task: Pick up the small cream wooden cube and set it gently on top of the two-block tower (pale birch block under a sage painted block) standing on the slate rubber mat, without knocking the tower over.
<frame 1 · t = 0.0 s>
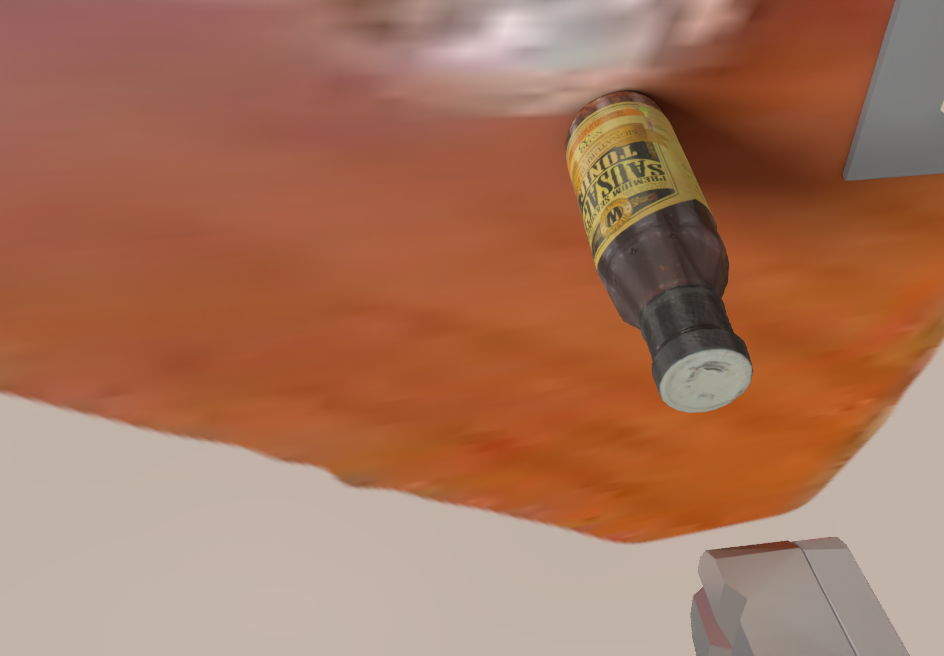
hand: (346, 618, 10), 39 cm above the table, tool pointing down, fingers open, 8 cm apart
sauce bottle: (610, 135, 51), on the table
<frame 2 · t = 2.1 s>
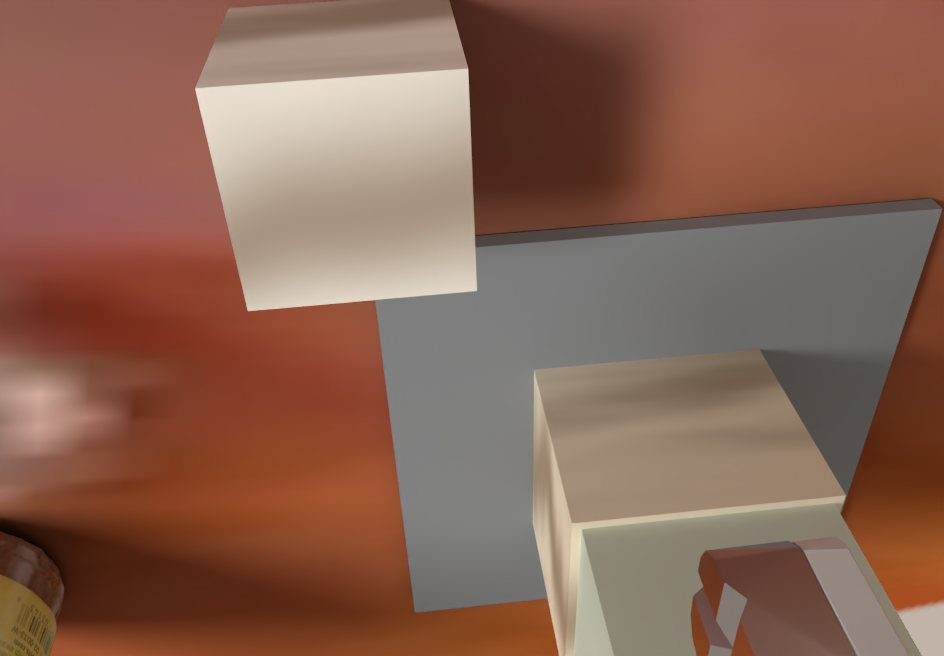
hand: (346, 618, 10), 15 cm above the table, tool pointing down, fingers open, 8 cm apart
sage block: (693, 594, 24), point 7 cm above the table, touching birch block
cream cube: (352, 103, 21), on the table
slate mat: (633, 429, 29), on the table
birch block: (638, 441, 28), point 1 cm above the table, touching sage block, slate mat
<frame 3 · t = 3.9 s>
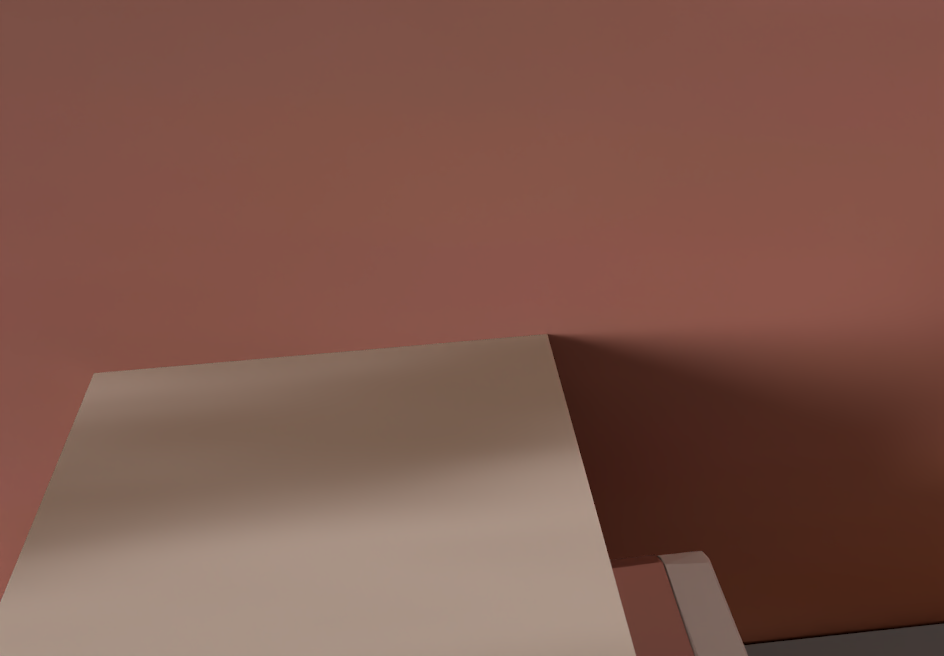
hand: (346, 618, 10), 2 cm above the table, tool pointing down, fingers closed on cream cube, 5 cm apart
cream cube: (350, 505, 11), on the table, touching gripper
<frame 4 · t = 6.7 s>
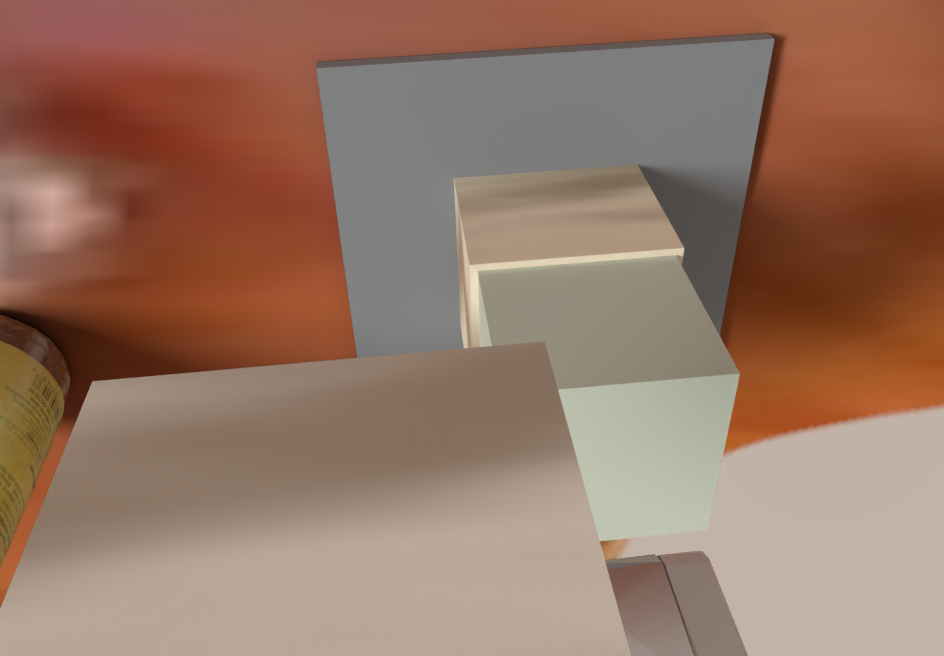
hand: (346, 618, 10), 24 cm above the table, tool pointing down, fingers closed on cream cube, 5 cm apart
sage block: (573, 341, 30), point 7 cm above the table, touching birch block
cream cube: (349, 513, 11), point 22 cm above the table, touching gripper
slate mat: (541, 242, 35), on the table
birch block: (544, 250, 35), point 1 cm above the table, touching sage block, slate mat
when the fingers open (15 cm above the table, at t = 9.4 s): cream cube drops 1 cm, resting on sage block.
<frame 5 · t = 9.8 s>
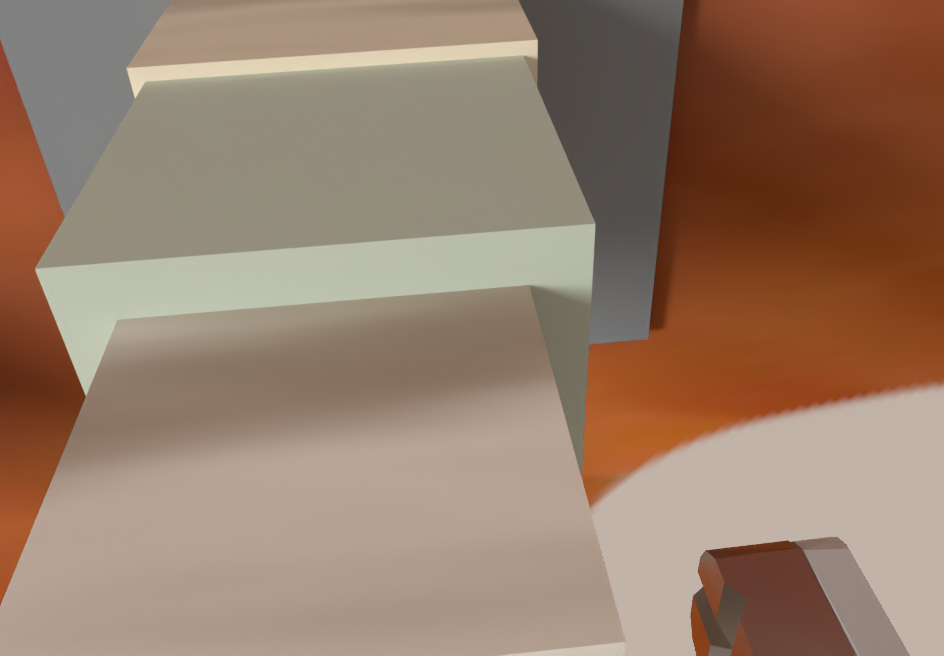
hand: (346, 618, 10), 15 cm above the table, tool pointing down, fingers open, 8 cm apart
sage block: (358, 232, 17), point 7 cm above the table, touching birch block, cream cube
cream cube: (350, 449, 12), point 13 cm above the table, touching sage block
slate mat: (361, 103, 22), on the table
birch block: (361, 113, 22), point 1 cm above the table, touching sage block, slate mat
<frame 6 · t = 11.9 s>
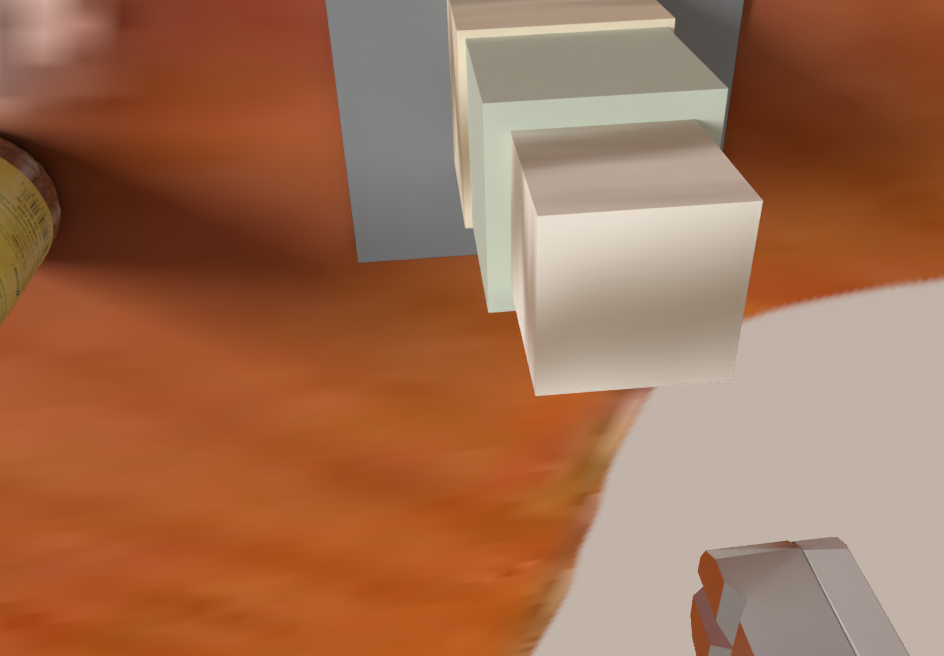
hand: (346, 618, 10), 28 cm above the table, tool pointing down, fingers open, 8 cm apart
sage block: (563, 129, 29), point 7 cm above the table, touching birch block, cream cube
cream cube: (598, 209, 24), point 13 cm above the table, touching sage block
slate mat: (535, 69, 35), on the table
birch block: (538, 74, 34), point 1 cm above the table, touching sage block, slate mat
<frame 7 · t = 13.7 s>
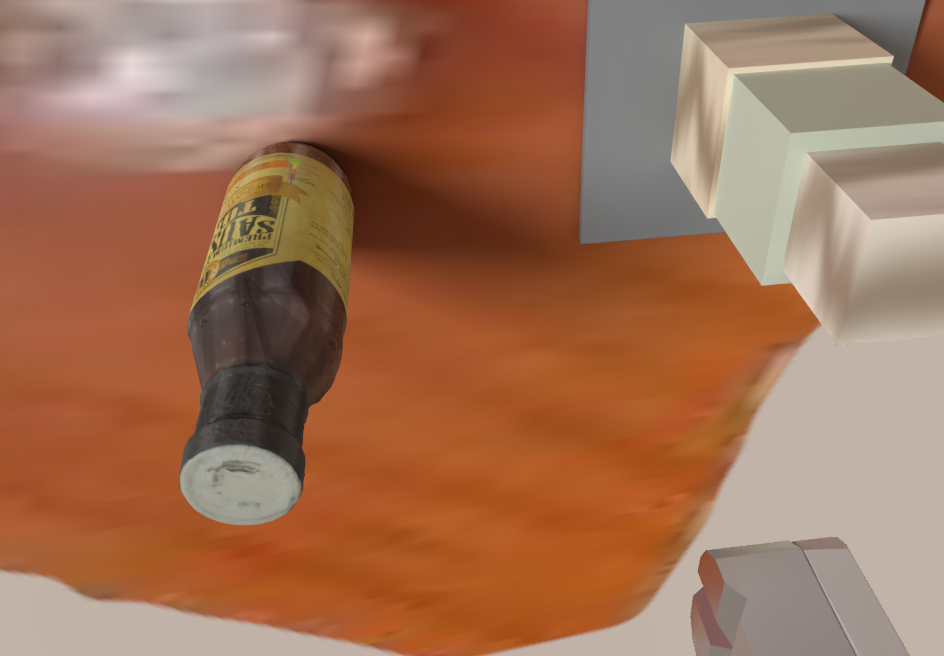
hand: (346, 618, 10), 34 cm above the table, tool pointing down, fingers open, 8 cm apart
sage block: (795, 141, 37), point 7 cm above the table, touching birch block, cream cube
cream cube: (857, 208, 33), point 13 cm above the table, touching sage block
slate mat: (743, 86, 43), on the table
birch block: (747, 90, 42), point 1 cm above the table, touching sage block, slate mat
sauce bottle: (291, 193, 44), on the table
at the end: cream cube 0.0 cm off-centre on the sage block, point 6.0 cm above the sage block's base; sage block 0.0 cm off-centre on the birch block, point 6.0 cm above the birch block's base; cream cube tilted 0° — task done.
